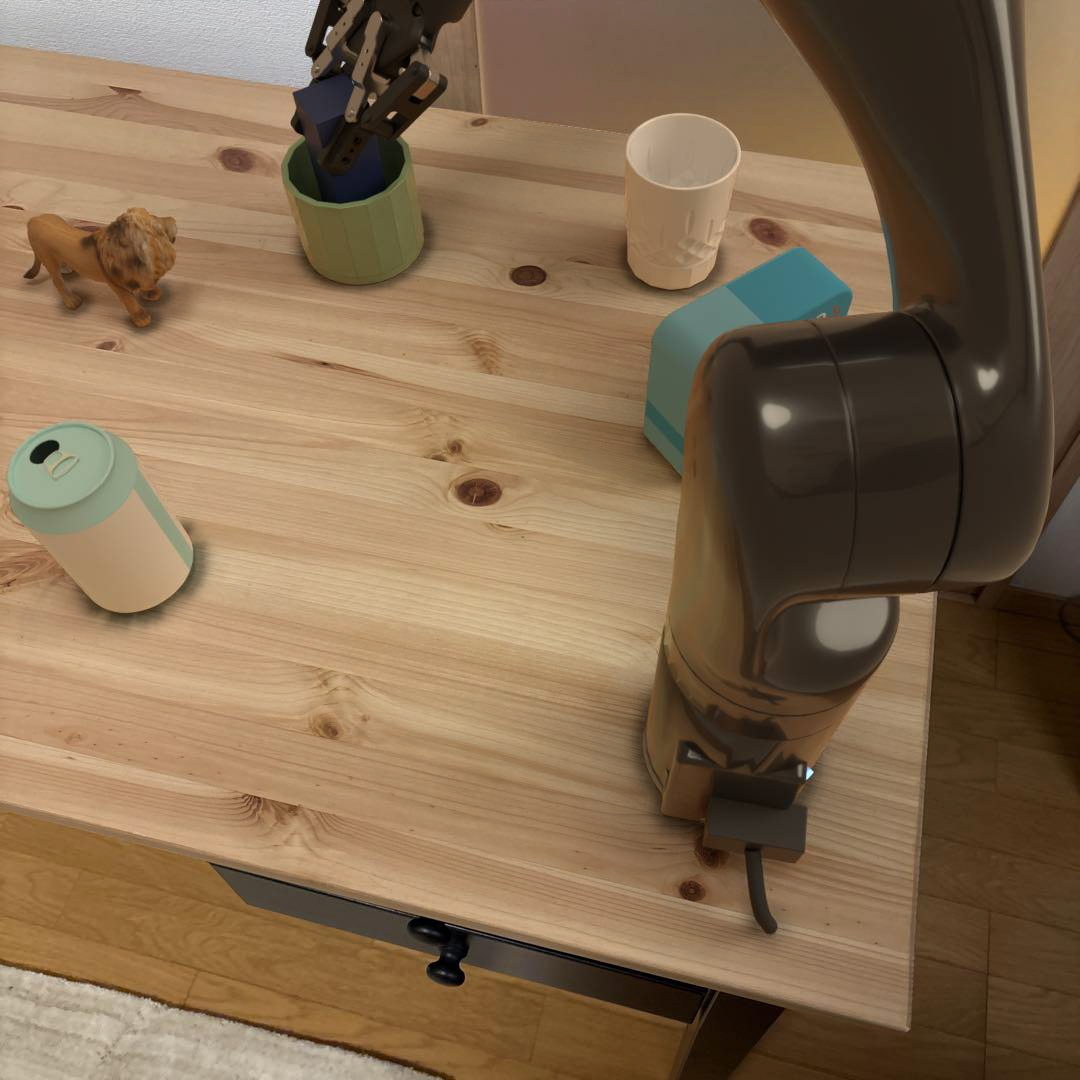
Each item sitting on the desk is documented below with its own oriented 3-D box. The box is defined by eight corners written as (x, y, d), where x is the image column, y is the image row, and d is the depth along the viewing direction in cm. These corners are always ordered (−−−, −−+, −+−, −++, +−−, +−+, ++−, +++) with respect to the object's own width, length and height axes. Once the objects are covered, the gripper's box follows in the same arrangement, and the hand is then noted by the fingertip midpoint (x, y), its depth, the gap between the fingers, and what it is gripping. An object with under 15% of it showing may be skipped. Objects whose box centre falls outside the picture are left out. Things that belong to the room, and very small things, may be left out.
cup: (406, 291, 76) (391, 214, 70) (289, 277, 77) (263, 199, 71) (436, 207, 81) (424, 127, 74) (325, 194, 82) (304, 114, 75)
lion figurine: (215, 286, 77) (175, 192, 69) (188, 337, 75) (143, 246, 67) (42, 259, 79) (-15, 165, 71) (10, 308, 77) (-54, 216, 69)
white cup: (622, 220, 79) (628, 110, 71) (722, 224, 79) (740, 114, 70) (616, 294, 75) (622, 187, 67) (722, 299, 75) (741, 191, 66)
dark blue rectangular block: (345, 238, 75) (315, 124, 67) (323, 207, 77) (291, 92, 68) (393, 218, 76) (369, 102, 68) (370, 187, 78) (344, 71, 69)
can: (74, 617, 63) (-24, 517, 53) (100, 522, 66) (13, 410, 56) (185, 617, 63) (109, 516, 52) (205, 521, 66) (137, 409, 56)
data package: (680, 487, 66) (699, 370, 56) (639, 442, 68) (651, 320, 58) (817, 405, 70) (860, 280, 59) (775, 364, 72) (809, 236, 61)
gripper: (353, -163, 63) (231, 77, 71) (460, -57, 57) (314, 194, 65) (437, -100, 69) (316, 116, 77) (543, 2, 63) (400, 226, 70)
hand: (316, 150), depth 71 cm, fingers closed on dark blue rectangular block, 4 cm apart
